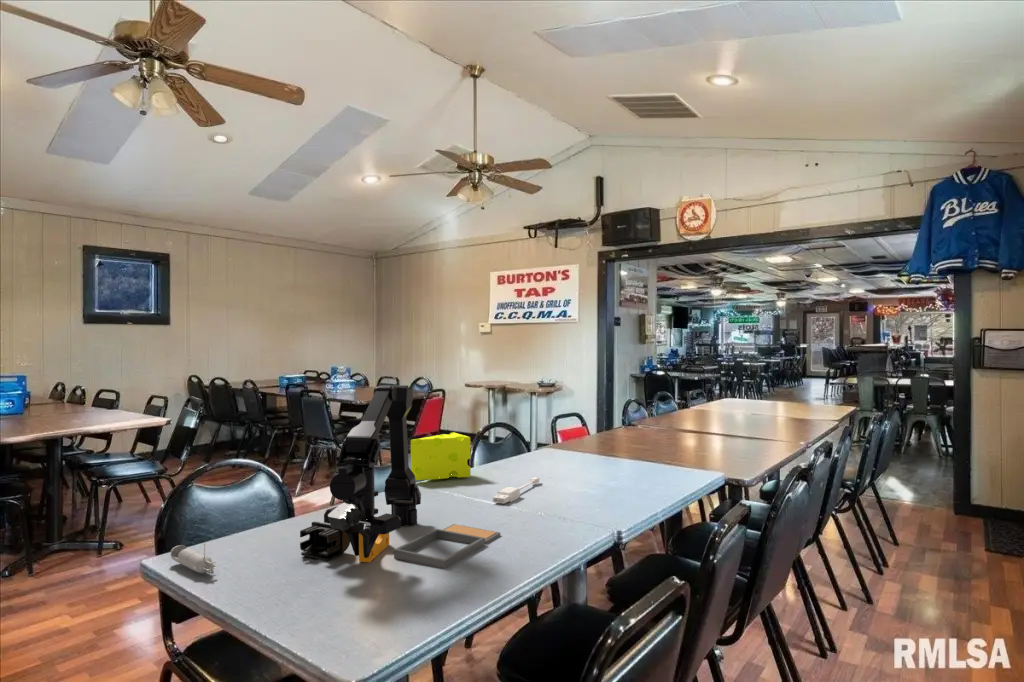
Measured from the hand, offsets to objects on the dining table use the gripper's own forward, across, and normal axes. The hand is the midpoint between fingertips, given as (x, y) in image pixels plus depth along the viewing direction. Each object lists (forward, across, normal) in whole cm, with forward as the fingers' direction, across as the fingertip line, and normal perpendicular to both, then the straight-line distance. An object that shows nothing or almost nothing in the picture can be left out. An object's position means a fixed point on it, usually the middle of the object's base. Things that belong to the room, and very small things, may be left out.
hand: (361, 556), depth 131 cm
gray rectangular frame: (+1, +12, +14) cm, 19 cm away
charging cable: (+2, +4, +71) cm, 71 cm away
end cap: (+2, -12, 0) cm, 12 cm away
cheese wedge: (+2, -33, +79) cm, 85 cm away
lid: (+1, +12, +27) cm, 29 cm away
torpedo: (+2, -32, -20) cm, 38 cm away
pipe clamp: (+2, -2, +6) cm, 6 cm away
